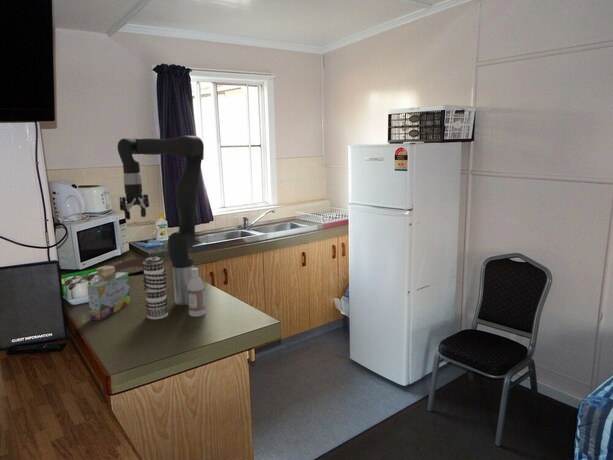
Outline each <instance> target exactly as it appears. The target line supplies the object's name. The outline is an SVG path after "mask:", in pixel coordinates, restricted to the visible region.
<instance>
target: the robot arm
mask: <svg viewBox="0 0 613 460" xmlns="http://www.w3.org/2000/svg"><path fill="white" fill-rule="evenodd" d="M204 147H205V145H204V142H203V140H202V139H201V137H199V136H198V135H197V136H196V135H183V136H179V137H178V136H177V137H174V138H167V139H165V138H121V139H120V140H119V141H118V142H117V152H118V154H119V155H118V156H119V157H120V160H121V163H122V170H123V187H124V194H125V196H121V197H120V196H119V210H120V211H124V219H126V220H131V211H130V210H131V208H133V206H139V208H140V217H141V218H145V217H146V216H147V212H146V211H147V210H146V209H147V208H149V207H150V203H149V196H148V194H145V193H144V194H143V183H142V175H141V168H140V162H139V161H138V159H134V156H133V155H146V156H147V155H149V156H153V155H155V156H156V155H157V156H158V155H172V156H173V155H174V156H179V157H182V158H185V164H184V169H183V172H182V174H181V175H180V178H179V180H178V181H177V183H176V184H177V185H176V187H175V206H176V209H177V211H178V214H179V227H178V230H177V231H175V232H172V233H171V234H170V235H169V236H168V240H167V245H168V253H169V260H170V262H171V266H172V277H173V278H172V279H173V280H172V281H173V290H174V291H173V293H174V303H175V305H180V306H183V305H184V306H185V305H186V306H188V292H187V286H188V283H189V281H190V279H191V277H192V276H191V269H192V268H195V267H194V259H193V258H192V257H191V256H190V257H189V252H188V251H189V249H191V248H192V247H193V246H194V244H195V242H196V214H197V202H198V194H199V193H198V192H199V182H200V171H201V165H202V160H203V155H204V149H205V148H204Z"/></svg>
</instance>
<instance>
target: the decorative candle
mask: <svg viewBox="0 0 613 460" xmlns="http://www.w3.org/2000/svg"><path fill="white" fill-rule="evenodd" d="M146 258H147V259H146V260H145V262H143V264H144V270H143V273H144V274H143V276H142V278H143V280H142V281H143V287H144V288H143V290H144V292H145V294H146V297H145V299H146V301H145V303H146V305H145V306H146V315H147V316H146V318H147V319H150V320H160V319H163V318H166V317H168V315H169V310H168V307H169V306H168V302H167V301H168V298H167V294H166V288H167V286H166V284H167V281H166V280H167V278H166V277H165V276H166V275H167V273H166V271H167V270H166V269H165V267H164V260H163V259H162V258H161V257H159V256H152V257H151V256H150V257H146Z"/></svg>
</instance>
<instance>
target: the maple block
mask: <svg viewBox="0 0 613 460" xmlns="http://www.w3.org/2000/svg"><path fill="white" fill-rule="evenodd" d="M115 273H116V271H115V267H113V265H103V266H100V267H98V268H96V275H97V280H98V281H99V280H102V281H108V280H111V279H114V278H116V275H115Z"/></svg>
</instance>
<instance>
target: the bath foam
mask: <svg viewBox="0 0 613 460" xmlns="http://www.w3.org/2000/svg"><path fill="white" fill-rule="evenodd" d="M191 276H192V277H191V279H190V281H189V283H188V286H187V292H188V305H187V306H188V314H189V316H190V317H202V316H204V315H205V314H206V312H207V309H206V307H207V306H206V294H205V293H206V292H205V285H204V284H205V283H204V282H203V280H202V279H201V278H200V276H199V267H194V268H192V269H191Z"/></svg>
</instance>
